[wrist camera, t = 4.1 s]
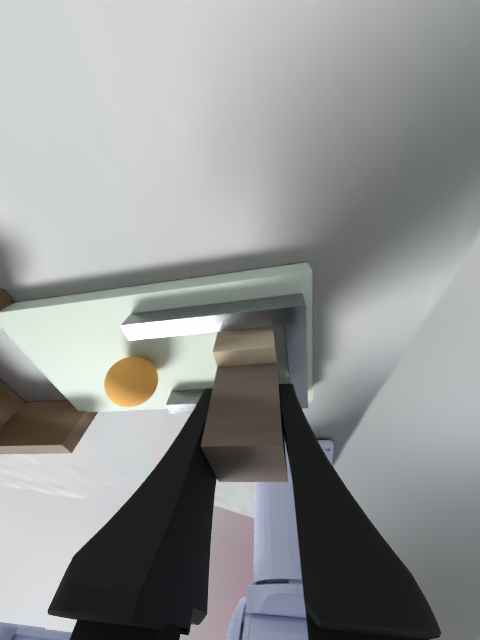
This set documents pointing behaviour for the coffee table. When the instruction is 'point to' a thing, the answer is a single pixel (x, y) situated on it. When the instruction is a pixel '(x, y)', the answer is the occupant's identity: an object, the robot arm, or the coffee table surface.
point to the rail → (224, 319)
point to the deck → (163, 352)
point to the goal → (38, 420)
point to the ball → (131, 381)
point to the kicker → (245, 409)
